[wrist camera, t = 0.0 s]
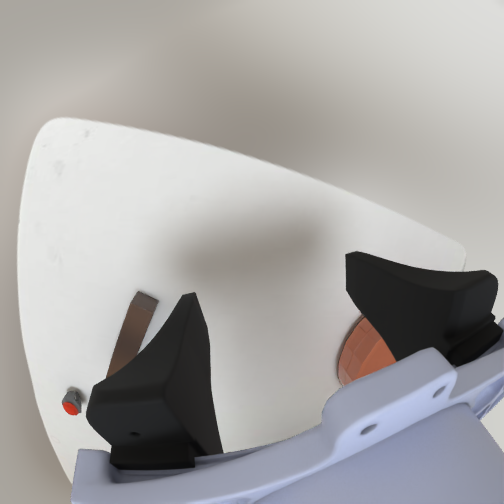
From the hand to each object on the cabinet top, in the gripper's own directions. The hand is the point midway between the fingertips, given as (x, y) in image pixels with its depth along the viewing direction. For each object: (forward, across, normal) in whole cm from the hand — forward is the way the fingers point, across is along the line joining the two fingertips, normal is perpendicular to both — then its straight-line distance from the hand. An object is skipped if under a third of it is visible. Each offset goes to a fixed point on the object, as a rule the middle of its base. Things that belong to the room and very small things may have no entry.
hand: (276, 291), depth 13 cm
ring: (+8, +23, +14) cm, 28 cm away
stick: (+9, +12, +8) cm, 17 cm away
